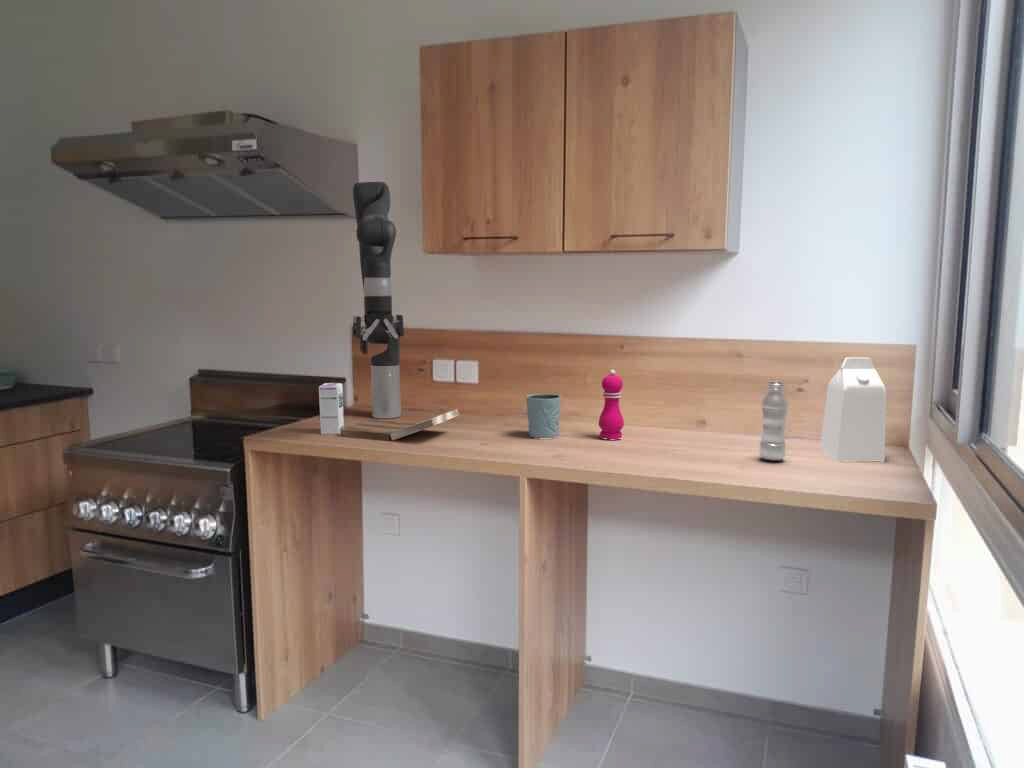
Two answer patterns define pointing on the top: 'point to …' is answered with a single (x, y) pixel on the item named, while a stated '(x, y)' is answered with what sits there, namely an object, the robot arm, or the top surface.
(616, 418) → the pepper mill
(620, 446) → the top surface
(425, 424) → the beige flat block
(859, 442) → the milk
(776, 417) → the plastic bottle
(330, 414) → the syrup box
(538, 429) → the blue planter pot
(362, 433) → the planks
